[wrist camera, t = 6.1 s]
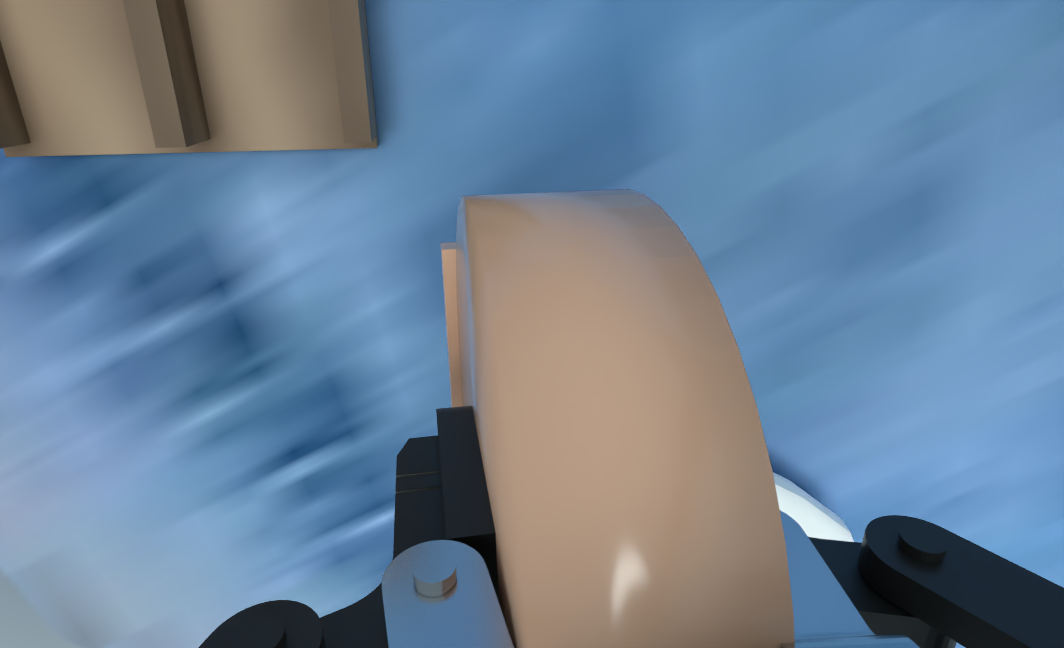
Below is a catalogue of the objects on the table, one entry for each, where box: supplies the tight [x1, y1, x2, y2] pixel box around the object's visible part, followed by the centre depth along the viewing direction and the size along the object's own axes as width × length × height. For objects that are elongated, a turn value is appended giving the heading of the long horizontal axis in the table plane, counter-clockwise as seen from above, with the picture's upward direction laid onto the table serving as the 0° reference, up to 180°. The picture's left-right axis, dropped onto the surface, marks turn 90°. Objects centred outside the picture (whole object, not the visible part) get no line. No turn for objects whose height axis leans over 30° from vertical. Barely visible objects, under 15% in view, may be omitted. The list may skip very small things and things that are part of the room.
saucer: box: [441, 189, 795, 648], centre depth 11 cm, size 3×10×11 cm, turn 1°
